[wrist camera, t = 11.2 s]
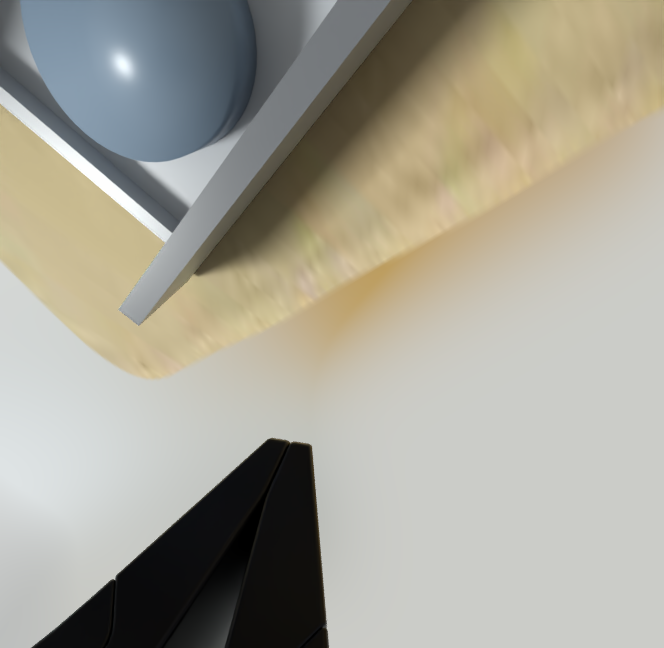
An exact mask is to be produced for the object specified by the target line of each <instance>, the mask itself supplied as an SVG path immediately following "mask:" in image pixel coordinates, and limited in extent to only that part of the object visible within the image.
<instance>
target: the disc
mask: <svg viewBox="0 0 664 648" xmlns="http://www.w3.org/2000/svg"><path fill="white" fill-rule="evenodd" d="M20 5H21V14H22V20H23V25H24V30H25V34H26V38H27V41H28V44H29V48H30V51H31V54H32V56H33V59H34V61H35V64H36V66H37V68H38V71H39V72H40V74H41V76H42V78H43V80H44V82H45V84H46V86H47V88H48V89H49V91H50V92H51V94H52V96H53V97H54V99H55V100H56V101H57V103H58V104H59V105H60V107H61V108H62V110H63V111H64V112H65V113H66V114H67V115H68V117H69V118H70V119H71V120H72V121H73V122H74V123H75V124H76V125H77V126H78V127H79V128H80V129H81V130H82V131H83V132H84V133H85V134H87V135H88V136H89V137H91V138H92V139H93V140H94V141H96V142H97V143H99V144H100V145H102V146H104V147H105V148H107V149H108V150H110V151H112V152H115V153H117V154H119V155H121V156H124V157H127V158H130V159H133V160H138V161H143V162H165V161H171V160H174V159H178V158H181V157H183V156H186V155H188V154H191V153H193V152H196V151H198V150H201V149H203V148H206V147H208V146H210V145H212V144H214V143H216V142H217V141H219V140H220V139H222V138H223V137H224V136H226V135H227V134H228V133H229V132H230V131H231V130H232V129H233V128H234V126H235V125H236V124H237V122H238V121H239V120H240V118H241V116H242V115H243V113H244V111H245V109H246V107H247V105H248V102H249V100H250V97H251V94H252V90H253V86H254V82H255V75H256V68H257V46H256V35H255V29H254V24H253V19H252V15H251V12H250V8H249V5H248V2H247V0H20Z"/></svg>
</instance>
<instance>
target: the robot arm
mask: <svg viewBox="0 0 664 648" xmlns="http://www.w3.org/2000/svg"><path fill="white" fill-rule="evenodd" d="M314 478H315V477H314V465H313V455H312V446H311V445H310V444H306V443H300V442H291V443H290V442H289V441H287V440H282V439H276V438H270V439H268V440H267V441H265V442H264V443H263V444H262V445H261V446H260V447H259V448H258V449H256V450H255V451H254V452H253V453H252V454H251V455H250V456H249V457H248V458H247V459H245V460H244V461H243V462H242V463H241V464H240V465H239V466H238V467H236V468H235V469H234V470H233V471H232V472H231V473H230V474H229V475H228V476H226V477H225V478H224V479H223V480H222V481H221V482H220V483H219V484H218V485H216V486H215V487H214V488H213V489H212V490H211V491H210V492H209V493H207V494H206V495H205V496H204V497H203V498H202V499H201V500H200V501H199V502H198V503H196V504H195V505H194V506H193V507H192V508H191V509H190V510H189V511H187V512H186V513H185V514H184V515H183V516H182V517H181V518H180V519H179V520H177V521H176V522H175V523H174V524H173V525H172V526H171V527H170V528H168V529H167V530H166V531H165V532H164V533H163V534H162V535H161V536H160V537H158V538H157V539H156V540H155V541H154V542H153V543H152V544H151V545H150V546H148V547H147V548H146V549H145V550H144V551H143V552H142V553H141V554H140V555H138V556H137V557H136V558H135V559H134V560H133V561H132V562H131V563H130V564H128V565H127V566H126V567H125V568H124V569H123V570H122V571H121V572H120V573H118V574H117V575H116V578H115V580H114V579H112V580H110V581H109V582H108V583H107V584H106V585H105V586H104V587H103V588H102V589H100V590H99V591H98V592H97V593H96V594H95V595H94V596H92V597H91V598H90V599H89V600H88V601H87V602H86V603H85V604H83V605H82V606H81V607H80V608H79V609H78V610H76V611H75V612H74V613H73V614H72V615H71V616H69V617H68V618H67V619H66V620H65V621H64V622H62V623H61V624H60V625H59V626H58V627H57V628H55V629H54V630H53V631H52V632H50V633H49V634H48V635H47V636H45V637H44V638H43V639H42V640H40V641H39V642H38V643H37V644H35V645H34V646H33V647H32V648H329V643H328V631H327V625H326V624H327V621H326V609H325V597H324V586H323V573H322V563H321V562H322V561H321V549H320V538H319V526H318V516H317V515H318V513H317V502H316V489H315V479H314Z"/></svg>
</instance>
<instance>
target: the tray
mask: <svg viewBox="0 0 664 648" xmlns="http://www.w3.org/2000/svg"><path fill="white" fill-rule="evenodd" d="M247 2H248V5H249V8H250V12H251V15H252V19H253V24H254V29H255V35H256V46H257V68H256V75H255V82H254V86H253V90H252V94H251V97H250V100H249V102H248V105H247V107H246V109H245V111H244V113H243V115H242V116H241V118H240V120H239V121H238V122H237V124H236V125H235V126H234V128H233V129H232V130H231V131H230V132H229V133H228V134H227V135H226V136H224V137H223V138H222V139H220V140H219V141H217V142H216V143H214V144H212V145H210V146H208V147H206V148H203V149H201V150H198V151H196V152H193V153H191V154H188V155H186V156H183V157H181V158H178V159H174V160H171V161H165V162H143V161H138V160H133V159H130V158H127V157H124V156H121V155H119V154H117V153H115V152H112V151H110V150H108V149H107V148H105V147H104V146H102V145H100V144H99V143H97V142H96V141H94V140H93V139H92V138H91V137H89V136H88V135H87V134H85V133H84V132H83V131H82V130H81V129H80V128H79V127H78V126H77V125H76V124H75V123H74V122H73V121H72V120H71V119H70V118H69V117H68V115H67V114H66V113H65V112H64V111H63V110H62V108H61V107H60V105H59V104H58V103H57V101H56V100H55V99H54V97H53V96H52V94H51V92H50V91H49V89H48V88H47V86H46V84H45V82H44V80H43V78H42V76H41V74H40V72H39V71H38V68H37V66H36V64H35V61H34V59H33V56H32V54H31V51H30V48H29V44H28V41H27V38H26V34H25V30H24V25H23V20H22V14H21V5H20V0H0V104H1V105H3V106H4V107H5V108H6V109H7V110H8V111H10V112H11V113H12V114H13V115H14V116H16V117H17V118H18V119H19V120H20V121H21V122H23V123H24V124H25V125H26V126H27V127H29V128H30V129H31V130H32V131H33V132H34V133H36V134H37V135H38V136H39V137H40V138H42V139H43V140H44V141H45V142H46V143H48V144H49V145H50V146H51V147H52V148H53V149H55V150H56V151H57V152H58V153H59V154H61V155H62V156H63V157H64V158H65V159H66V160H68V161H69V162H70V163H71V164H72V165H74V166H75V167H76V168H77V169H78V170H80V171H81V172H82V173H83V174H84V175H85V176H87V177H88V178H89V179H90V180H91V181H93V182H94V183H95V184H96V185H97V186H98V187H100V188H101V189H102V190H103V191H104V192H106V193H107V194H108V195H109V196H110V197H112V198H113V199H114V200H115V201H116V202H117V203H119V204H120V205H121V206H122V207H123V208H125V209H126V210H127V211H128V212H129V213H130V214H132V215H133V216H134V217H135V218H136V219H138V220H139V221H140V222H141V223H142V224H144V225H145V226H146V227H147V228H148V229H149V230H151V231H152V232H153V233H154V234H155V235H157V236H158V237H159V238H160V239H161V240H162V241H164V242H165V244H164V246H163V247H162V249H161V250H160V251H159V253H158V254H157V256H156V257H155V258H154V260H153V261H152V263H151V264H150V266H149V267H148V268H147V270H146V271H145V273H144V274H143V275H142V277H141V278H140V280H139V281H138V282H137V284H136V285H135V287H134V288H133V290H132V291H131V292H130V294H129V295H128V297H127V298H126V299H125V301H124V302H123V304H122V305H121V306H120V308H119V309H118V310H119V311H121V312H122V313H123V314H124V315H126V316H127V317H128V318H130V319H131V320H132V321H133V322H135V323H136V324H137V325H140V324H141V323H143V322H144V321H145V320H146V319H147V318H148V317H149V316H150V315H151V314H152V313H153V312H155V311H156V310H157V309H158V308H159V307H160V306H161V305H162V304H163V303H164V302H166V301H167V300H168V299H169V298H170V297H171V296H172V295H173V294H174V293H175V292H176V291H178V290H179V289H180V288H181V287H182V286H183V285H184V284H185V283H186V282H187V281H188V280H189V279H190V278H191V276H192V275H193V274H194V273H195V271H196V270H197V269H198V268H199V266H200V265H201V264H202V263H203V261H204V260H205V259H206V258H207V256H208V255H209V254H210V253H211V251H212V250H213V249H214V248H215V246H216V245H217V244H218V243H219V241H220V240H221V239H222V238H223V236H224V235H225V234H226V233H227V231H228V230H229V229H230V228H231V226H232V225H233V224H234V223H235V221H236V220H237V219H238V218H239V216H240V215H241V214H242V213H243V211H244V210H245V209H246V208H247V206H248V205H249V204H250V203H251V201H252V200H253V199H254V198H255V196H256V195H257V194H258V193H259V191H260V190H261V189H262V188H263V186H264V185H265V184H266V183H267V181H268V180H269V179H270V178H271V176H272V175H273V174H274V173H275V171H276V170H277V169H278V168H279V167H280V165H281V164H282V163H283V162H284V160H285V159H286V158H287V157H288V155H289V154H290V153H291V152H292V150H293V149H294V148H295V147H296V145H297V144H298V143H299V142H300V140H301V139H302V138H303V137H304V135H305V134H306V133H307V132H308V130H309V129H310V128H311V127H312V125H313V124H314V123H315V122H316V120H317V119H318V118H319V117H320V115H321V114H322V113H323V112H324V110H325V109H326V108H327V107H328V105H329V104H330V103H331V102H332V100H333V99H334V98H335V97H336V95H337V94H338V93H339V92H340V90H341V89H342V88H343V87H344V85H345V84H346V83H347V82H348V80H349V79H350V78H351V77H352V75H353V74H354V73H355V72H356V70H357V69H358V68H359V67H360V65H361V64H362V63H363V62H364V60H365V59H366V58H367V57H368V55H369V54H370V53H371V52H372V50H373V49H374V48H375V47H376V45H377V44H378V43H379V42H380V40H381V39H382V38H383V37H384V35H385V34H386V33H387V32H388V30H389V29H390V28H391V27H392V25H393V24H394V23H395V22H396V20H397V19H398V18H399V17H400V15H401V14H402V13H403V12H404V10H405V9H406V8H407V7H408V5H409V4H410V3H411V2H412V0H247Z"/></svg>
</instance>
